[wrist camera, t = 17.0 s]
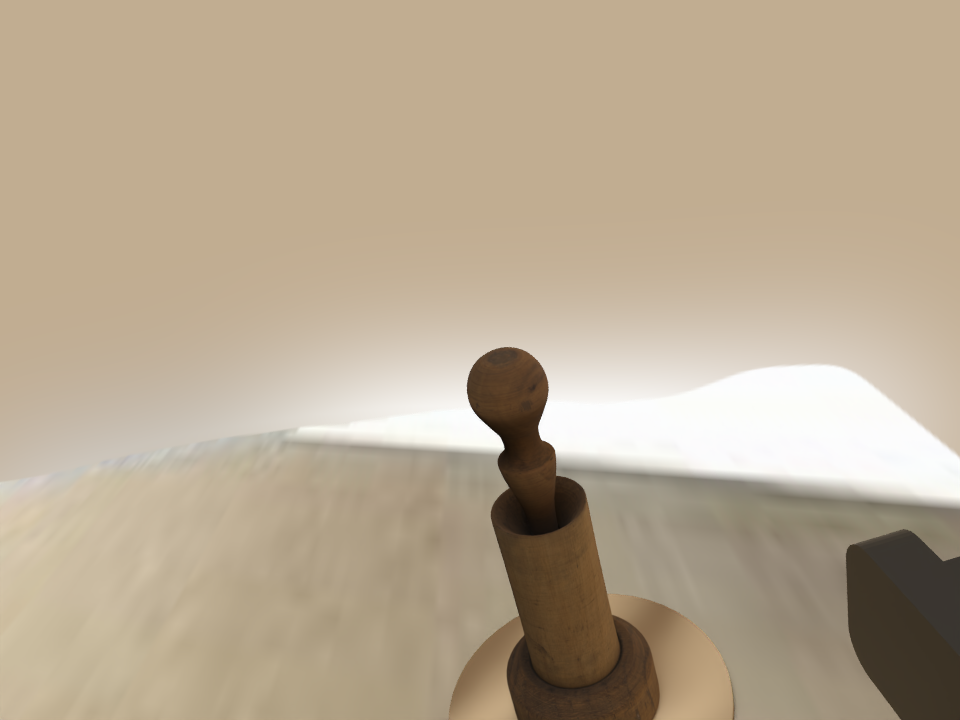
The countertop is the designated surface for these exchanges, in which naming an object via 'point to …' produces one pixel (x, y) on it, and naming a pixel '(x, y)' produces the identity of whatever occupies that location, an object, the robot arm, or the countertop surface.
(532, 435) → the mortar and pestle
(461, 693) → the cork trivet
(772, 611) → the countertop surface
